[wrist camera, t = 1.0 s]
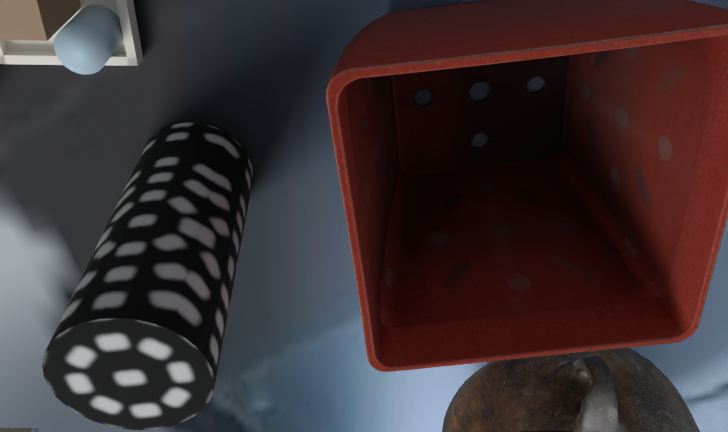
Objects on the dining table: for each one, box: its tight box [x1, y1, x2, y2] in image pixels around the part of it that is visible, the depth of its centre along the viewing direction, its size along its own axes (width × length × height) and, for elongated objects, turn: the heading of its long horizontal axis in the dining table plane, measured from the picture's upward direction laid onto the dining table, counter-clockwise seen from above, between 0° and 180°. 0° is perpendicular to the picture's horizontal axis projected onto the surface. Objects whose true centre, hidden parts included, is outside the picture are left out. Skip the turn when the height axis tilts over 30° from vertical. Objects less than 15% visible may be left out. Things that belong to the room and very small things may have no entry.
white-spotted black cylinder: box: [43, 122, 253, 430], centre depth 40 cm, size 8×8×20 cm
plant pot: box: [326, 0, 728, 372], centre depth 39 cm, size 19×19×17 cm
